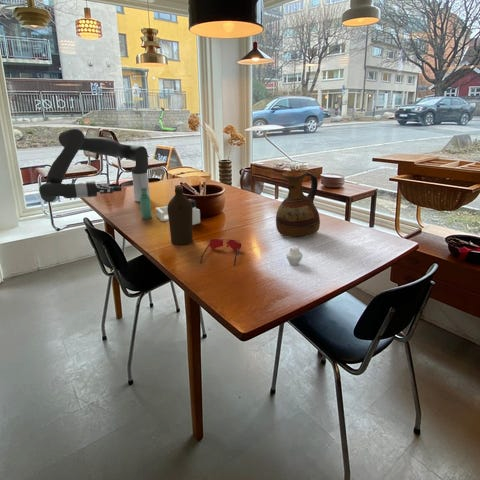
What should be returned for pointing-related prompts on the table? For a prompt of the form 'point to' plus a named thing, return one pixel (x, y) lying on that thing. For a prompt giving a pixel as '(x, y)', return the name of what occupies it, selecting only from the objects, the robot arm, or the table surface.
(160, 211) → the cream U-rest
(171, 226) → the olive oil
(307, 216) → the ceramic pitcher
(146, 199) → the green bottle
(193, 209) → the medicine bottle
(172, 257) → the table surface
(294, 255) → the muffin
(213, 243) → the glasses
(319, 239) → the table surface
